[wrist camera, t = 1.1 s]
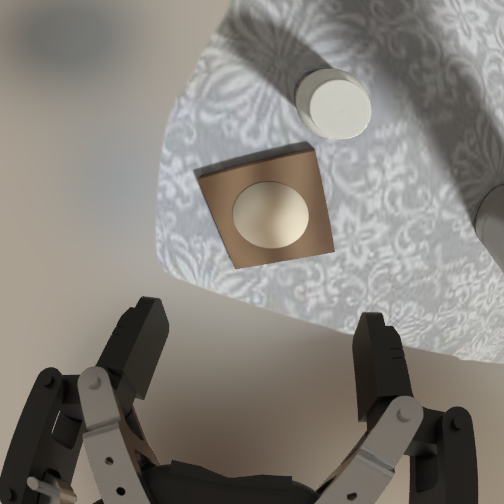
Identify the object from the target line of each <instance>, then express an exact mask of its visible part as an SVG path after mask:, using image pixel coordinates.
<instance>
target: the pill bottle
mask: <svg viewBox="0 0 504 504" xmlns="http://www.w3.org/2000/svg"><path fill="white" fill-rule="evenodd" d="M294 100H295V105H296V109H297V112H298V115H299V117H300V119H301V121H302V122H303V123H304V125H305V126H306V127H307V128H308V129H309V130H310V131H312V132H313V133H315V134H317V135H319V136H321V137H324V138H327V139H349V138H352V137H355V136H357V135H359V134H360V133H361V132H362V131H363V130H364V129H365V128H366V127H367V125H368V123H369V121H370V118H371V104H370V101H369V96H368V93H367V91H366V89H365V87H364V86H363V84H362V83H361V82H360V81H359V80H358V79H357V78H356V77H354V76H353V75H351V74H350V73H348V72H345V71H342V70H339V69H330V68H327V69H326V68H319V69H314V70H310V71H308V72H306V73H305V74H304V75H302V76H301V77H300V79H299V80H298V81H297V83H296V86H295V89H294Z"/></svg>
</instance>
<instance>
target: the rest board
mask: <svg viewBox="0 0 504 504" xmlns="http://www.w3.org/2000/svg"><path fill="white" fill-rule="evenodd" d="M198 181H199V183H200V186H201V188H202V191H203V193H204V196H205V198H206V201H207V203H208V205H209V208H210V210H211V213H212V215H213V217H214V220H215V222H216V225H217V227H218V229H219V232H220V234H221V237H222V239H223V241H224V244H225V246H226V249H227V251H228V253H229V256H230V258H231V260H232V263H233V265H234V267H235V269H240V268H246V267H252V266H257V265H263V264H269V263H275V262H281V261H287V260H292V259H298V258H304V257H309V256H315V255H321V254H326V253H332V252H335V250H334V244H333V238H332V232H331V226H330V221H329V215H328V210H327V205H326V200H325V195H324V190H323V185H322V180H321V175H320V171H319V166H318V162H317V158H316V153H315V149H314V148H312V149H307V150H302V151H297V152H293V153H288V154H284V155H279V156H275V157H271V158H266V159H262V160H258V161H254V162H250V163H246V164H242V165H238V166H235V167H231V168H227V169H224V170H220V171H216V172H213V173H209V174H206V175H202V176H200V177H199V179H198Z"/></svg>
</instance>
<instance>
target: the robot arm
mask: <svg viewBox="0 0 504 504" xmlns="http://www.w3.org/2000/svg"><path fill="white" fill-rule="evenodd" d="M475 228H476V234H477V236H478V238H479V240H480V241H481V242H482V244H483V245H484V246H485V248H486V249H487V250H488V252H489V253H490V254H491V256H492V257H493V259H494V260H495V262H496V263H497V265H498V266H499V267H500V269H501V270H502V272H503V273H504V185H501V186H498V187H496V188H495V189H493V190H492V191H491V192H490V193H489V194H488V195H487V196H486V198H485V199H484V200H483V202H482V204H481V206H480V208H479V210H478V213H477V217H476V225H475ZM168 333H169V322H168V320H167V316H166V313H165V311H164V307H163V305H162V302H161V300H160V299H159V298H153V297H144V296H143V297H141V298H140V300H139V301H138V303H137V305H136V307H135V308H133V307H130V308H129V309H128V310H127V311H126V312H125V313H124V314H123V315H122V316H121V318H120V319H119V321H118V323H117V327H116V328H115V329H114V331H113V333H112V335H111V337H110V339H109V340H108V342H107V345H106V346H105V348H104V350H103V352H102V354H101V356H100V358H99V360H98V362H97V364H96V366H94V367H90V368H87V369H86V370H85V371H83V372H82V373H81V375H62V374H61V373H60V372H59V371H58V369H56V368H53V367H49V368H46V369H44V370H43V371H42V372H40V374H39V375H38V377H37V379H36V381H35V383H34V385H33V388H32V390H31V392H30V395H29V397H28V399H27V402H26V404H25V406H24V409H23V411H22V414H21V416H20V419H19V421H18V424H17V427H16V429H15V432H14V435H13V438H12V440H11V444H10V447H9V450H8V453H7V456H6V459H5V462H4V466H3V469H2V473H1V476H0V501H1V503H2V504H75V502H76V501H77V496H76V494H75V493H74V491H73V489H72V487H71V482H72V478H73V473H74V470H75V466H76V463H77V459H78V456H79V452H80V449H81V446H82V443H83V442H84V446H85V449H86V453H87V456H88V459H89V463H90V466H91V469H92V472H93V475H94V478H95V481H96V484H97V486H98V489H99V492H100V495H101V497H102V499H100V500H98V501H96V502H95V503H93V504H374V503H375V502H376V500H377V499H378V498H379V496H380V495H381V493H382V492H383V491H384V490H385V488H386V486H387V485H388V484H389V482H390V481H391V479H392V478H393V476H394V473H395V470H394V469H395V466H396V465H397V463H398V462H399V460H400V458H401V457H402V455H403V454H404V455H409V456H410V493H409V504H478V475H477V474H478V472H477V458H476V447H475V438H474V431H473V424H472V419H471V416H470V414H469V412H468V411H467V410H466V409H464V408H462V407H452V408H450V409H449V410H448V411H446V412H442V411H436V410H431V409H427V408H425V407H423V406H421V404H420V403H419V402H418V401H417V400H416V399H415V398H414V397H413V393H412V389H411V384H410V379H409V374H408V369H407V364H406V360H405V355H404V351H403V347H402V342H401V338H400V336H399V334H398V333H397V331H396V330H395V329H394V327H393V326H385V322H384V318H383V315H382V313H378V312H363V313H362V314H361V317H360V320H359V323H358V326H357V328H356V331H355V334H354V337H353V344H352V350H353V360H354V370H355V381H356V392H357V406H358V407H357V408H358V422H367V430H366V431H365V433H364V434H363V435H362V437H361V438H360V440H359V441H358V442H357V444H356V445H355V446H354V447H353V449H352V450H351V451H350V453H349V454H348V455H347V456H346V458H345V459H344V460H343V461H342V463H341V464H340V465H339V466H338V467H337V468H336V469H335V470H334V471H333V472H332V473H331V474H330V475H329V476H328V478H327V479H326V480H325V481H324V482H323V483H322V484H321V485H320V486H319V488H317V489H316V491H314V490H313V489H311V488H310V487H308V486H306V485H304V484H302V483H299V482H296V481H293V480H292V476H272V475H255V476H246V477H237V478H228V477H225V476H222V475H220V474H217V473H215V472H212V471H210V470H208V469H205V468H203V467H201V466H197V465H192V464H188V463H183V462H179V461H174V460H172V462H171V464H167V465H160V463H159V460H158V459H157V456H156V454H155V453H154V451H153V450H152V448H151V447H150V446H149V444H148V442H147V439H146V437H145V435H144V432H143V430H142V427H141V424H140V422H139V420H138V417H137V414H136V411H135V408H134V406H133V402H134V399H135V398H138V399H142V400H144V399H145V396H146V393H147V390H148V388H149V385H150V382H151V379H152V377H153V374H154V371H155V368H156V366H157V363H158V360H159V358H160V355H161V352H162V350H163V347H164V345H165V342H166V339H167V337H168ZM59 411H60V413H59ZM58 413H59V416H58V419H57V421H56V418H57V415H58ZM55 421H56V424H55V427H54V430H53V433H52V429H53V426H54V423H55Z"/></svg>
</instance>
